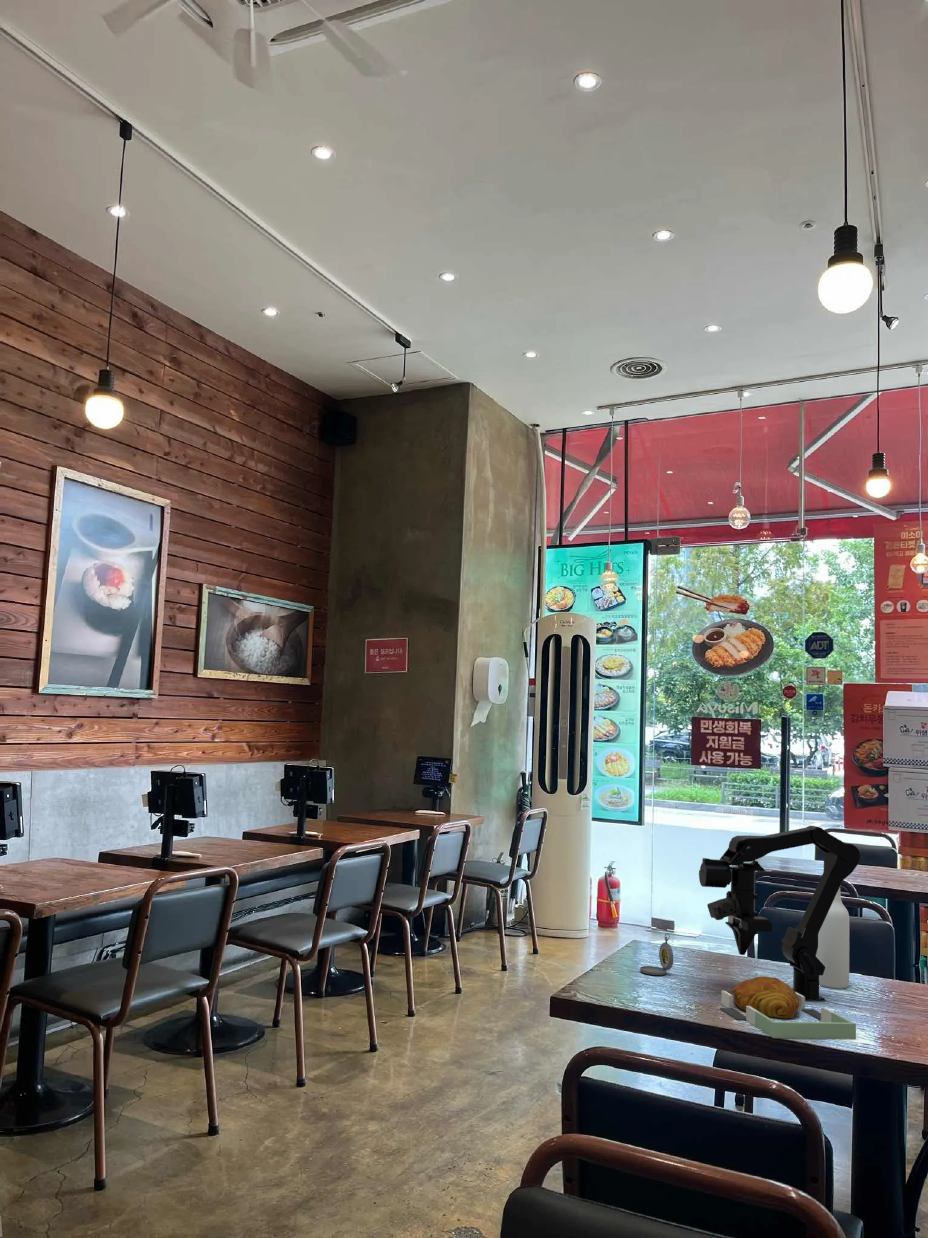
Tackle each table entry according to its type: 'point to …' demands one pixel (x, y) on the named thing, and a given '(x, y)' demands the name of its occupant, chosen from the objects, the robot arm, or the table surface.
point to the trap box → (826, 1029)
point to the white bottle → (834, 946)
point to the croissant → (767, 997)
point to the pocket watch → (661, 960)
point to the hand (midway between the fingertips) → (741, 954)
